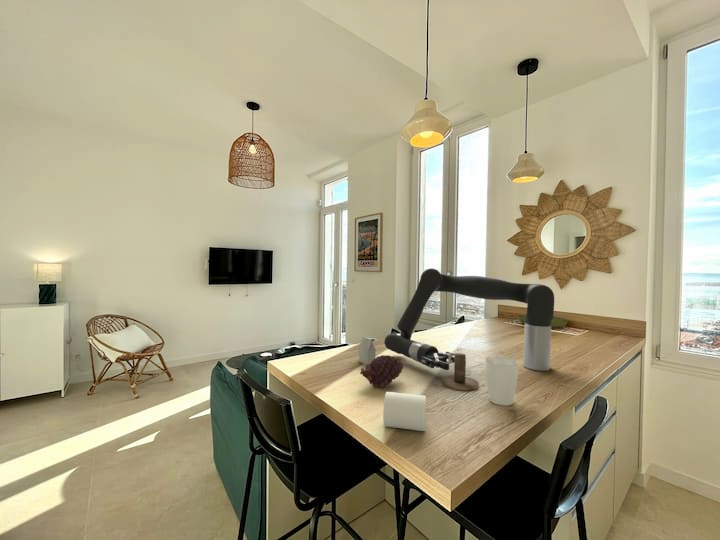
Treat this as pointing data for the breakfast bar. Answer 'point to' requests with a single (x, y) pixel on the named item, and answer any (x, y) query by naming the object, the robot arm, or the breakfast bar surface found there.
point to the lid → (460, 376)
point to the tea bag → (366, 351)
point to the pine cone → (382, 370)
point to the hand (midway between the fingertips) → (457, 365)
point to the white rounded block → (405, 411)
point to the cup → (501, 379)
